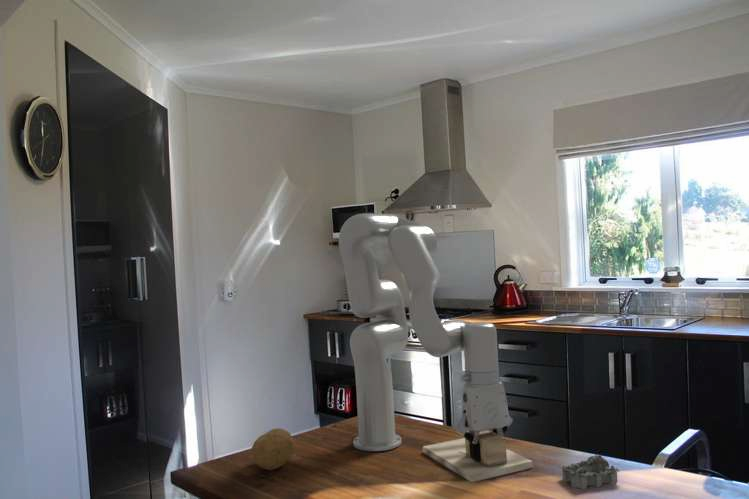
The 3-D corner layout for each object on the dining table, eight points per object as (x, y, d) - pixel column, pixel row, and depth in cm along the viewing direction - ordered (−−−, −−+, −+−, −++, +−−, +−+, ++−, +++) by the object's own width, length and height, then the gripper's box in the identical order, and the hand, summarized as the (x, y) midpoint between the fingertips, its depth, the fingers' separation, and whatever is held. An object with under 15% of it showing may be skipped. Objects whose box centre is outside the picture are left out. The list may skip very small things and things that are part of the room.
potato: (242, 478, 135) (240, 443, 135) (264, 456, 148) (262, 425, 148) (283, 479, 133) (281, 443, 133) (301, 457, 147) (300, 425, 147)
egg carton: (603, 472, 128) (602, 453, 128) (623, 485, 120) (622, 465, 120) (557, 477, 126) (556, 458, 126) (575, 491, 118) (574, 471, 118)
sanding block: (466, 455, 137) (464, 431, 137) (484, 451, 139) (482, 427, 139) (488, 466, 129) (486, 441, 129) (507, 462, 131) (505, 437, 131)
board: (422, 452, 145) (422, 446, 145) (477, 441, 152) (477, 435, 152) (471, 482, 125) (471, 475, 125) (532, 467, 131) (532, 460, 131)
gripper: (458, 385, 127) (463, 470, 127) (523, 375, 134) (527, 455, 134) (441, 379, 134) (445, 459, 134) (503, 370, 141) (507, 446, 141)
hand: (486, 456), depth 134 cm, fingers closed on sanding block, 5 cm apart
